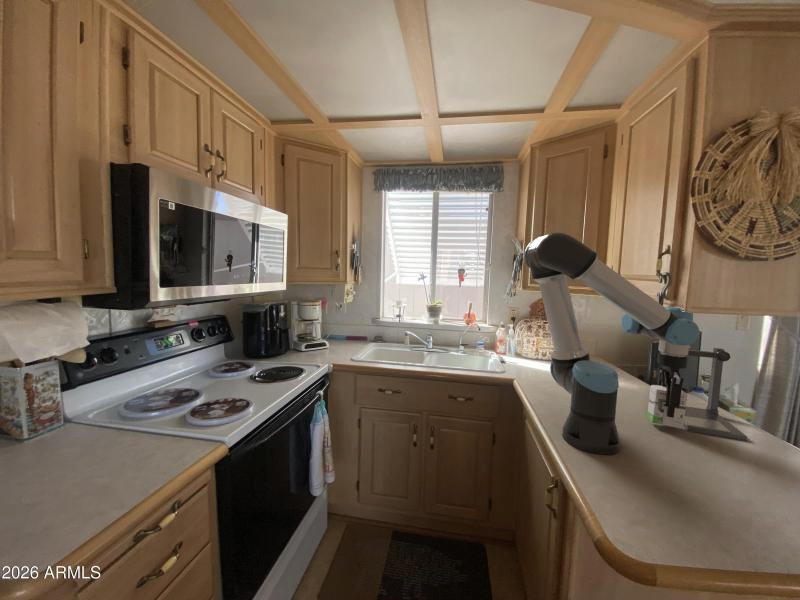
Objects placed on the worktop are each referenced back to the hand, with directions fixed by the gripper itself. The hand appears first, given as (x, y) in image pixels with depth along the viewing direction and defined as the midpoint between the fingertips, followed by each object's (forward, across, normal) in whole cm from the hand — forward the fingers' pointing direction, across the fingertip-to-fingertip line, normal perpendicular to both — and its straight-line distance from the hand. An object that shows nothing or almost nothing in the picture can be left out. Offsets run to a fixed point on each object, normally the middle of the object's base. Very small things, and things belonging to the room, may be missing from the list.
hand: (664, 421), depth 107 cm
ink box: (+1, 0, 0) cm, 1 cm away
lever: (-20, +17, -13) cm, 29 cm away
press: (+1, +10, -14) cm, 17 cm away
